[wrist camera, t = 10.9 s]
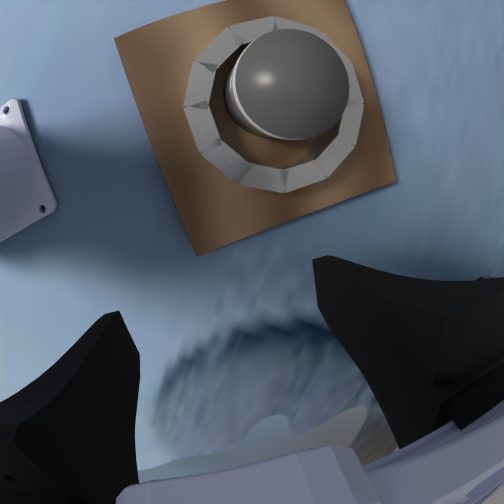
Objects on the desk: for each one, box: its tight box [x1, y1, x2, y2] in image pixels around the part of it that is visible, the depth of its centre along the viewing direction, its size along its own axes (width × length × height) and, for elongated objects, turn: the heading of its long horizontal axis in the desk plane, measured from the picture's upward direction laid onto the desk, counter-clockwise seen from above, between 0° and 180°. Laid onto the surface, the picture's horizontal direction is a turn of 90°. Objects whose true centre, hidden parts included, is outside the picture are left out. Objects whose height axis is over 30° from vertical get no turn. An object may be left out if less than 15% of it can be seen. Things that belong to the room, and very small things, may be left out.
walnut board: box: [114, 0, 396, 256], centre depth 17 cm, size 14×14×1 cm
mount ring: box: [183, 16, 364, 193], centre depth 16 cm, size 9×9×2 cm
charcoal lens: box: [223, 29, 349, 140], centre depth 14 cm, size 5×5×5 cm
